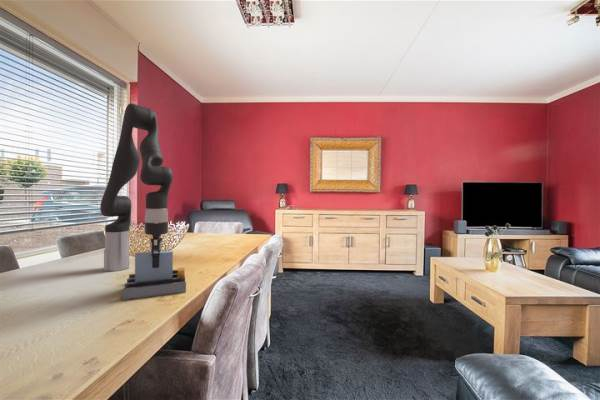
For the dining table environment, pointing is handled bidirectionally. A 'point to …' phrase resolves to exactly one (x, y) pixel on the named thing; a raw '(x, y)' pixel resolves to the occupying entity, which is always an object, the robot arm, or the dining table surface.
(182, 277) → the rack
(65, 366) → the dining table surface
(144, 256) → the panel
